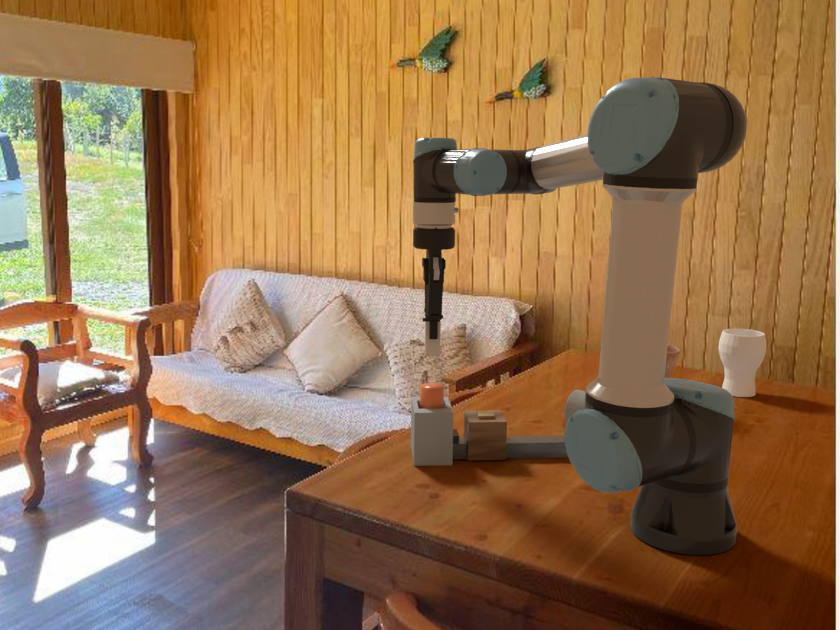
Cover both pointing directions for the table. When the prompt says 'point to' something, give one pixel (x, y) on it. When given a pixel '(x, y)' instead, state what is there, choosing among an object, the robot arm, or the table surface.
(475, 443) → the block
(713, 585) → the table surface
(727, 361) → the cup
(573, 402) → the ceramic mug
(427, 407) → the button
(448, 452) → the grey button housing
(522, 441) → the rail
